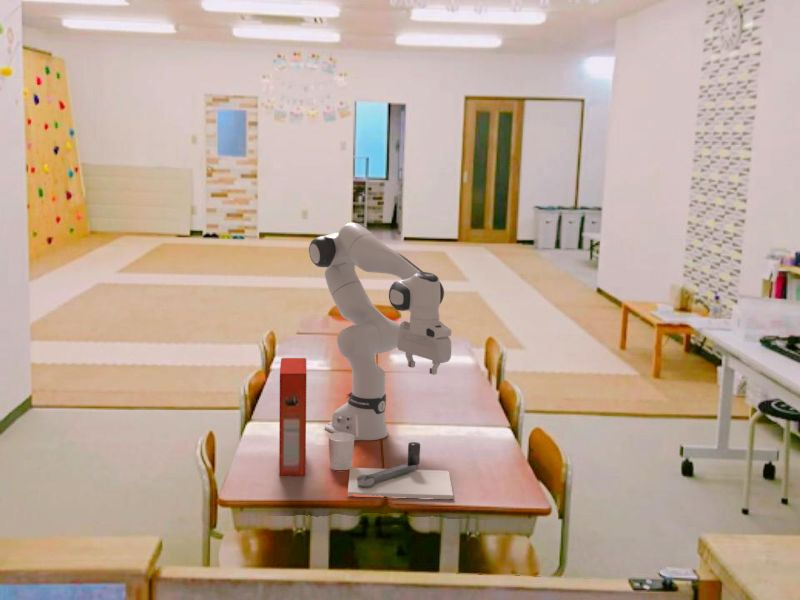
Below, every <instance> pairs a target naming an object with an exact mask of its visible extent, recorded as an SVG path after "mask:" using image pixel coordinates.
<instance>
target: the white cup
mask: <svg viewBox="0 0 800 600" xmlns="http://www.w3.org/2000/svg"><path fill="white" fill-rule="evenodd" d="M354 438H355V437H354V435H352V434H350V433H344V432H338V433H333V432H332V433H331V434H329V436H328V452H329V453H328V454H329V455H328V458H329V467H330V469H331V468H332V469H334V470H333V471H335V470H346V469H350V468H351V467H352V468H353V459H354V450H355V449H354V448H355V440H354ZM332 469H331V470H332Z"/></svg>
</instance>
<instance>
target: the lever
mask: <svg viewBox="0 0 800 600" xmlns="http://www.w3.org/2000/svg"><path fill="white" fill-rule="evenodd" d="M407 446H408V447H407V462H406V463H402V464H399V465H396V466H393V467H390V468H385V469H386V470H383V471H380V472H377V473H374V474H370V475H360V476H358V477H357V485H358V486H360V487H372V486H374V483H377V482H380V481H383V480H386V479H389V478H392V477H395V476H398V475H402V474H405V473H408V472H411V471H414V470H418V465H420V458H421V457H420V456H421V444H420V442H417V441H416V442H415V441H412V442H408V445H407Z"/></svg>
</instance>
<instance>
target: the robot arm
mask: <svg viewBox="0 0 800 600" xmlns="http://www.w3.org/2000/svg"><path fill="white" fill-rule="evenodd" d="M308 254H309V257H310V261H311V262H312V263H313V264H314V265H315V266H316V267H318V268H325V271H324V276H325V282H326V284H327V287H328V291H329V292H330V295H331V297H332V300H333V302H334V304H335V306H336V308H337V310H338V311H339V314H340V316H341V317H342V318H343V319H345V320H346V321H348V322H351V323H352V325H350V326H348V327H345V328H343V329H342V330H340V331H339V332H338V334H337V337H336V347H337V350H338V352H339V353H340V355H342V356H343V357H345V358H346V360H347V361H348V363H349V365H350V369H351V372H352V374H351V375H352V392H350V393H347V394H346V397H345V398H346V399H347V398H348V400H347V402H346V403H345V404H343V405H341V406H340V407H338V408H337V409H336V410H334V412H333V414H332V417H331V421H330V422H328V423H326V424H325V426H324V429H325V430H326V431H328V432H331V433H332V434H333V433H338V432H344V433H350V434H352V435H354V437H355V438H354V441H376V440H381V439H384V438H386V437H387V436H388V435H389V431H388V428H387V422H386V405H387V394H386V376H387V375H386V372H385V371H384V369H383V368H382V367H381V366H379V365H377V363H376V355H378V354H384V353H389V352H390V351H393V350H395V349H397V350H398V351H401V352H404V353H405V358H406V361H407V367H409V368H415V367H416V361H415V360H414V358H413V356H417V357H421V358H422V359H427V360H430V361H431V362H432V364H433V365H432V367H430V368H429V374H430V375H433V376H435V375H437V373H438V368H439V367H440V366H441V364H445V363H448V362H449V361H450V360H451V358H452V341H451V340H452V339H451V338H450V337H451V336H452V329H451V328H450V327H448V326H447V325H446V324H444V323H443V322H442V321H440V313H439V309H440V305H441V304H442V302H443V300H444V296H445V290H444V286H443V285H442V283H441V281H440V279H439V277H438V276H437V275H436V274H434V273H432V272H426V271H423V270H422V269H420V268H419V267H418V266H417V265H415V264H414V263H413V262H411V261H410V260H409V259H408V258H406V257H405V256H403V255H402V254H401V253H399V252H397V251H396V250H394V249H392V248H391V247H390V246H389V247H388V246H387V245H386V244H385V243H383V242H382V241H381V240H379V238H378V237H376V236H375V234H373V233H372V232H371V231H370V230H368V229H367V228H366V227H365V226H363V225H361V224H360V223H357V222H349V223H346V224H344V225H343V226H342V227H341V228H340V230H339V231H336V232H332V233H329V234H326V235H325V234H324V235H320V236H318V237H316V238H314V239H312V240H311V241H310V244H309V247H308ZM355 267H357V268H359V269H360V270H362V271H363V272H366V273H373V274H374V273H378V274H387V275H392V276H396V277H398V278H399V280H396V281H394V282H393V283H392V284H391V286H390V288H389V290H388V299H389V303H390V305H391V306H392V308H393V309H394V310H396V311H401V312H407V311H408V312H409V313H410V316H409V322H408V321H406V320H405V321H403V322H401V324H400V323H398V322H397V321H394V320H392V319H391V318H388V317H387V316H385V315H384V314H383V313H382V312H381V311H380V310H379V309H378V308H377V306H375V305H374V304H373V302H372V301H371V299H370V297H369V295H368V293H367V292H366V289H365V288H364V286H363V284H362V282H361V281H360V278H359V277H358V274H357V273H356V270H355Z"/></svg>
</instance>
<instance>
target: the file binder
mask: <svg viewBox="0 0 800 600" xmlns="http://www.w3.org/2000/svg"><path fill="white" fill-rule="evenodd" d="M279 368H280V369H279V434H278V435H279V440H278V441H279V445H278V446H279V450H278V451H279V453H278V455H279V456H278V457H279V458H278V459H279V465H278V467H279V471H278V474H279V477H280V476H293V477H305V476H306V471H307V470H306V467H307V466H306V465H307V464H306V463H307V460H306V459H307V458H306V457H307V456H306V455H307V452H306V451H307V450H306V448H307V358H306V357H281V358H280V366H279Z"/></svg>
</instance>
